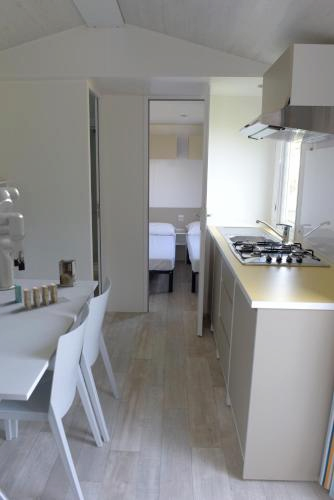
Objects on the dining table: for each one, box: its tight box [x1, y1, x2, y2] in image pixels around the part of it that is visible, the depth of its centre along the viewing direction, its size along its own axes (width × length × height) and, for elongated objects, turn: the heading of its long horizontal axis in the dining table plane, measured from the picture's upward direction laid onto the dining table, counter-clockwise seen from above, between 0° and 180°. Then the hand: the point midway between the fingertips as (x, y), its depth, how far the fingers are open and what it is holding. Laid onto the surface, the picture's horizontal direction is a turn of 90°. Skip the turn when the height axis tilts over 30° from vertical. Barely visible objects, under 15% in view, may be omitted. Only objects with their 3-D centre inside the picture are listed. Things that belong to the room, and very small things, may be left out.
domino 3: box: [41, 284, 50, 305], centre depth 208 cm, size 5×2×10 cm, turn 42°
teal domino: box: [14, 283, 23, 304], centre depth 211 cm, size 5×2×10 cm, turn 42°
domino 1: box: [22, 288, 32, 310], centre depth 201 cm, size 5×2×10 cm, turn 42°
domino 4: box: [49, 282, 59, 303], centre depth 211 cm, size 5×2×10 cm, turn 42°
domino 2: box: [32, 286, 41, 307], centre depth 205 cm, size 5×2×10 cm, turn 42°
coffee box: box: [58, 259, 77, 287], centre depth 242 cm, size 9×6×16 cm
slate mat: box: [19, 296, 72, 313], centre depth 209 cm, size 9×26×1 cm, turn 132°
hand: (19, 268), depth 206 cm, fingers open, 9 cm apart
